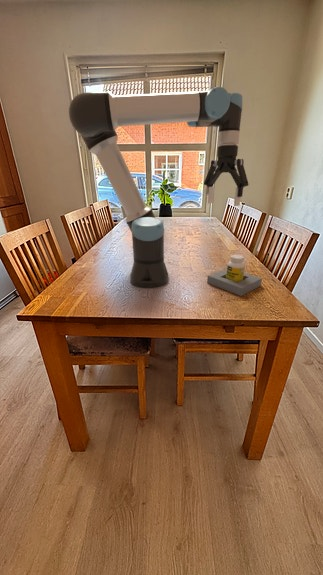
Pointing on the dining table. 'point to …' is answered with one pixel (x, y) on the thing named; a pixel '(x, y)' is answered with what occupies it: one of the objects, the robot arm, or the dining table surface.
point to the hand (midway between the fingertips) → (222, 204)
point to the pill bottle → (235, 268)
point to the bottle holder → (231, 286)
